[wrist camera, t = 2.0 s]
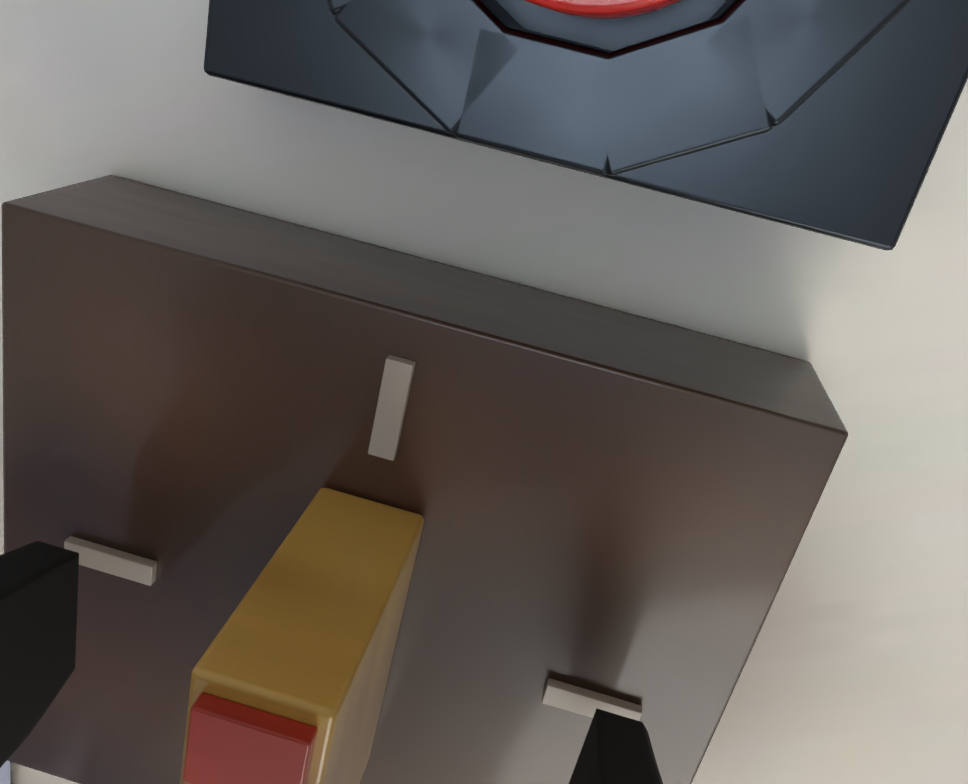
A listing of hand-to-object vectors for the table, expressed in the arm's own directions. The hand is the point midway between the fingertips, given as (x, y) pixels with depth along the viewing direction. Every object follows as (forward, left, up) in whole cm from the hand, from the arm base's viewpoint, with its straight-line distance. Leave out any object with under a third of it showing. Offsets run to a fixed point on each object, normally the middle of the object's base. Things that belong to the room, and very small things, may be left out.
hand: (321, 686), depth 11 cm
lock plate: (0, 0, -4) cm, 4 cm away
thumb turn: (0, 0, -1) cm, 1 cm away
